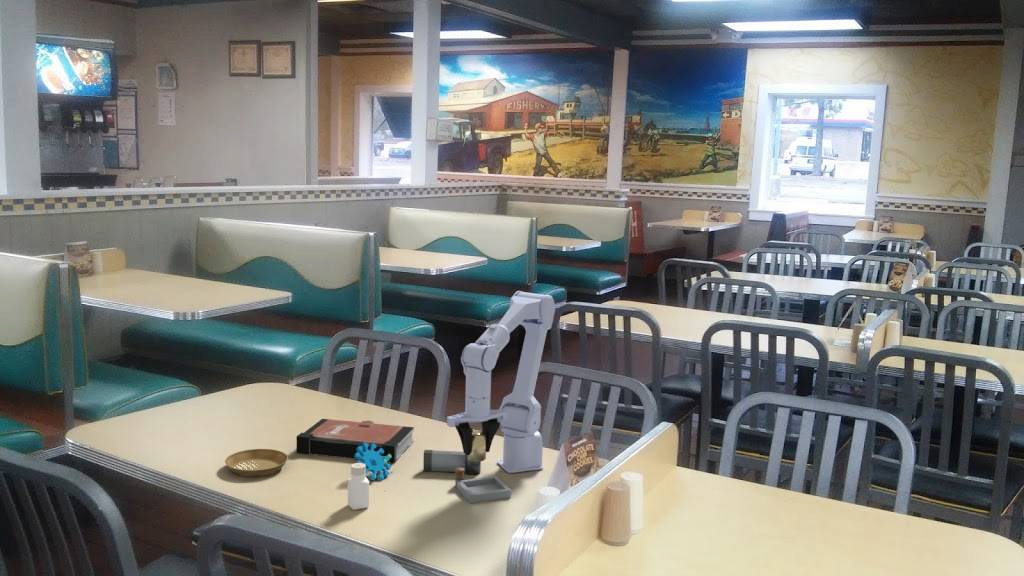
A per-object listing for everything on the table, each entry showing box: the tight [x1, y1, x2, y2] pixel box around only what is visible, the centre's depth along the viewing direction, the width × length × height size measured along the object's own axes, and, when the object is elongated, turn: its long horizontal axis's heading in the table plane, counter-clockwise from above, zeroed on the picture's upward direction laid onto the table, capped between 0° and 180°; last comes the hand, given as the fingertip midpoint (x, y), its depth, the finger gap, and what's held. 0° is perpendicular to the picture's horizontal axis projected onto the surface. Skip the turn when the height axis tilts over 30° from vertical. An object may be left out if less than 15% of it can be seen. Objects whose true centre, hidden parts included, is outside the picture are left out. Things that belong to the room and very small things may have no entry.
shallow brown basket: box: [224, 448, 289, 478], centre depth 214 cm, size 15×15×3 cm
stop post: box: [454, 468, 465, 488], centre depth 207 cm, size 2×2×4 cm
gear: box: [354, 443, 392, 481], centre depth 212 cm, size 11×6×10 cm
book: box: [296, 418, 415, 464], centre depth 231 cm, size 26×18×5 cm
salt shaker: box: [347, 462, 370, 511], centre depth 193 cm, size 4×4×10 cm
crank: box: [422, 449, 482, 475], centre depth 216 cm, size 14×4×5 cm, turn 88°
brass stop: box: [467, 429, 487, 462], centre depth 203 cm, size 4×4×6 cm
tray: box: [456, 475, 512, 504], centre depth 203 cm, size 10×9×2 cm
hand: (476, 452), depth 203 cm, fingers closed on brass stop, 4 cm apart
